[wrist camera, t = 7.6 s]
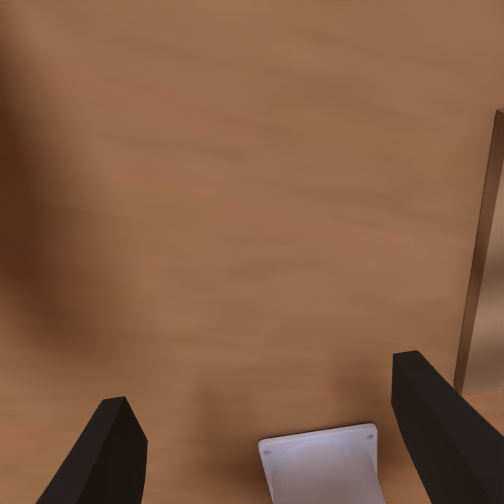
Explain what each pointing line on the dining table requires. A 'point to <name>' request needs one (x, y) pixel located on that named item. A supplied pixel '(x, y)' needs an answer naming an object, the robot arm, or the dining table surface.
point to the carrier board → (486, 286)
